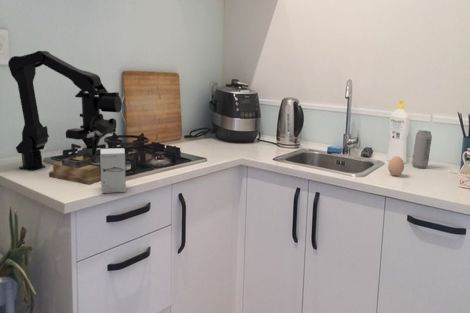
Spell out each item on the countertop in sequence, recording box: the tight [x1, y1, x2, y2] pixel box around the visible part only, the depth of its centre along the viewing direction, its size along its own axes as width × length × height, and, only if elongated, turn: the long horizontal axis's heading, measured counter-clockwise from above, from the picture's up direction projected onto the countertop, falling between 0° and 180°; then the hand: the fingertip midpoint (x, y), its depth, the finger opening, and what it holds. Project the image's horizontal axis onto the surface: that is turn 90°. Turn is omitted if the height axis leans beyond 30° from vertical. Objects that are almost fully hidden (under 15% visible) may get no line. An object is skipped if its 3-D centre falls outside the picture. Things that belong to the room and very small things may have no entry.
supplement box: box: [99, 147, 127, 194], centre depth 130 cm, size 7×7×13 cm
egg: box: [387, 155, 405, 177], centre depth 159 cm, size 6×6×8 cm
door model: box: [48, 151, 101, 185], centre depth 146 cm, size 18×16×6 cm
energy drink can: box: [411, 129, 433, 169], centre depth 172 cm, size 6×6×15 cm
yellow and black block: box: [72, 146, 93, 163], centre depth 144 cm, size 4×6×5 cm, turn 155°
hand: (92, 154), depth 148 cm, fingers closed
